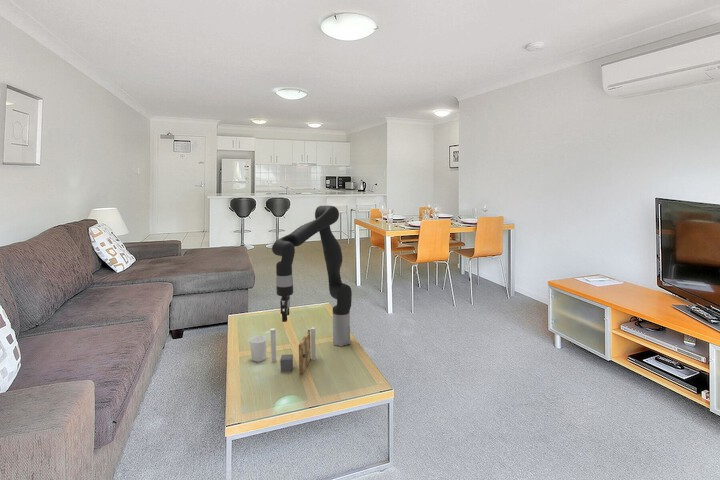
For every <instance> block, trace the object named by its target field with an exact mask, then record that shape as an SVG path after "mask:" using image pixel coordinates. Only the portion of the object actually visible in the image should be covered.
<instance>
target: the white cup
mask: <svg viewBox="0 0 720 480" xmlns="http://www.w3.org/2000/svg"><path fill="white" fill-rule="evenodd" d="M267 339H268V338H267V337H266V336H263V335H262V336H261V335H260V336H254V337H253V336H252V338H250V339H249V344H250V353H251V354H250V355H251V360H252V361H253V362H256V363H257V362H264V361H265V360H266V359H267V348H268V347H267V346H268V345H267Z"/></svg>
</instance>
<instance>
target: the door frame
mask: <svg viewBox="0 0 720 480" xmlns="http://www.w3.org/2000/svg"><path fill="white" fill-rule="evenodd" d="M276 333H277V331H276V328H274V327H273V328H270V350H271V362H277V337H276V335H277V334H276ZM316 347H317V346H316V327H312V326H311V327H310V352H311V359H310V361H316V359H317V357H316V356H317V355H316V353H317V351H316Z"/></svg>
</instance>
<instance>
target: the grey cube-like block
mask: <svg viewBox="0 0 720 480" xmlns="http://www.w3.org/2000/svg"><path fill="white" fill-rule="evenodd" d="M293 359H294V358H293V354H290V353H289V354H281V357H280V360H279V361H280V362H279V363H280V373H288V372H290V373H291V372H292V371H293V369H294V360H293Z"/></svg>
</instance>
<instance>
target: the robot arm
mask: <svg viewBox="0 0 720 480" xmlns="http://www.w3.org/2000/svg"><path fill="white" fill-rule="evenodd" d="M339 217H340V212H339V210H338V208H337V207H336V206H333V205H319V206H317V207H316V209H315V211H314V218H315V219H314V220H312V221H309V222H307V223H304V224H303V225H300V226H299V227H297V228H296V229H294V230H293V231H292V232H291V233H289V234H287V235H284V236H283V237H280V238H278V239H277V240H275V242H274V243H273V244H272V246H271V251H272V253H273V254H274V255H275V256H278V257H281V260H280V261H278V262H277V263H276V266H275V267H276V268H275V269H276V273H275V274H276V276H275V285H276V286H275V287H276V288H275V289H276V296H279V297H281V298H280V300H279V304H280V315H281V322H283V323H287V322H288V316H290V306H291V296H292V295H293V294H294V277H293V262H294V259H295V253H296V248H297V247H299V246H301V245H302V244H305V242H306V241H308V240H309V239H310V238H311V237H313V236H314V235H316V234H318V233H319V235H320V236H319V237H320V241H321V245H322V250H323V256H324V261H325V266H326V272H327V273H326V274H327V278H328V279H327V280H328V291H329V295H330V296H331V297H332V298H333V299H335V300H336V305H334V306H333V307H332V344H333V345H334V344H335V346H337V345H339V346H338V347H344V346H343V345H346V346H348V345H347V344H350V345H351V320H350V319H351V317H350V316H351V313H350V312H351V307H352V297H353V292H352V288H351V286H350V285H349V284H346V283H343V280H342V277H341V267H342V265H343V253H342V247H341V245H340V242H338V239H337V238H336V237H335V235H334V234H333V231H332V230H331V226H332V225H333V224H335V223H336V222H337V221H338V220H339V219H340V218H339Z"/></svg>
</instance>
